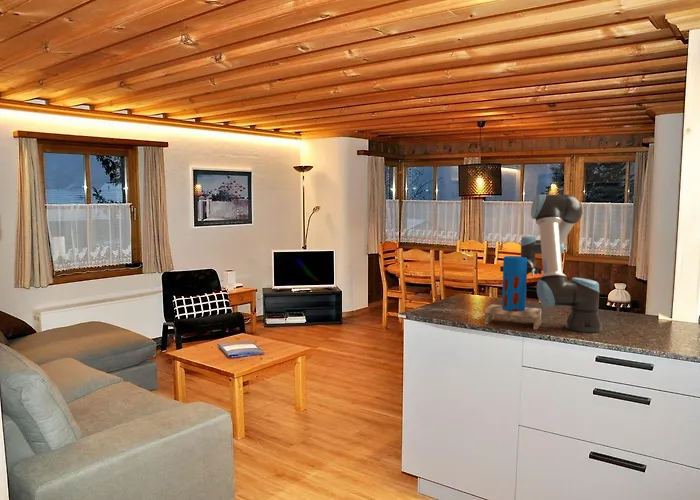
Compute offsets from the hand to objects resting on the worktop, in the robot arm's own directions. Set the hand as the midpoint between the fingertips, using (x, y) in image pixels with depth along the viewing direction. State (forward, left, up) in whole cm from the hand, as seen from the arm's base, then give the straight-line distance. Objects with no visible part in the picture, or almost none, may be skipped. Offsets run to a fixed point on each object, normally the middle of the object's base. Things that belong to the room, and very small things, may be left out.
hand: (518, 272), depth 274 cm
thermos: (-6, +10, -17) cm, 20 cm away
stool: (-6, +10, -24) cm, 26 cm away
